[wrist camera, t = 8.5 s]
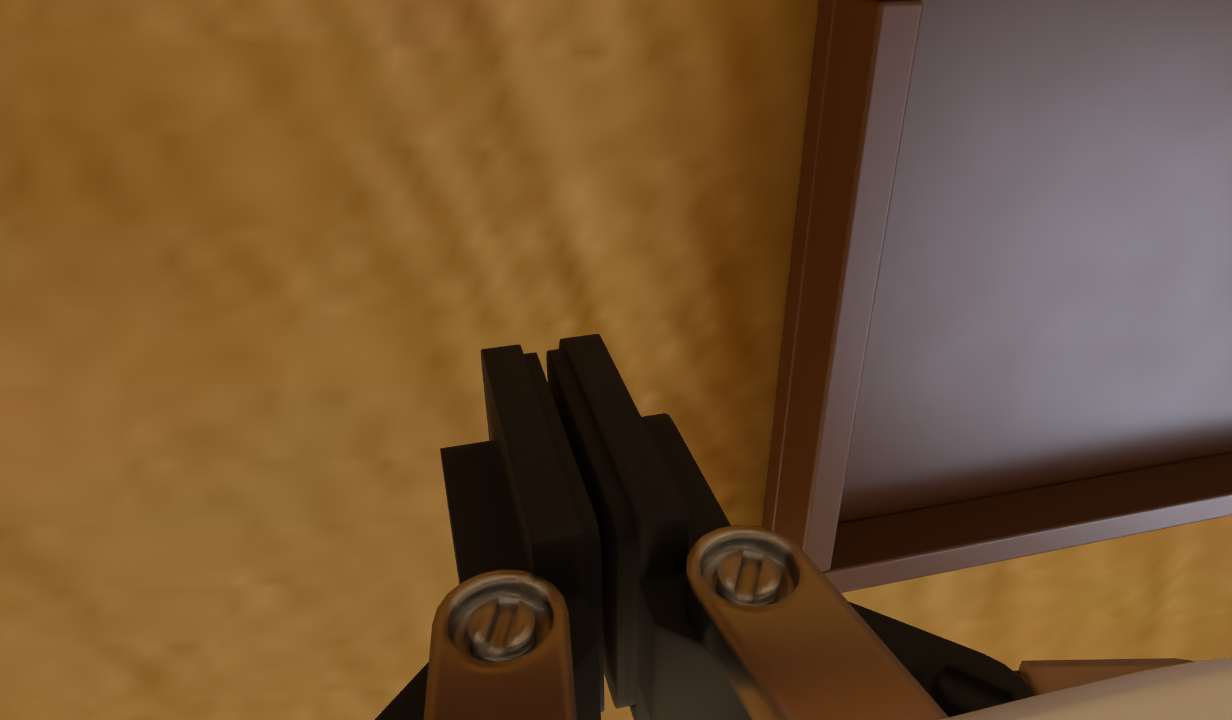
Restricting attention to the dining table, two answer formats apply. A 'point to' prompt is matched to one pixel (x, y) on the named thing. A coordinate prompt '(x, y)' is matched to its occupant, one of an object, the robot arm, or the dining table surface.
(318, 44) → the dining table surface
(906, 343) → the tray
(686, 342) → the dining table surface
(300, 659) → the dining table surface
